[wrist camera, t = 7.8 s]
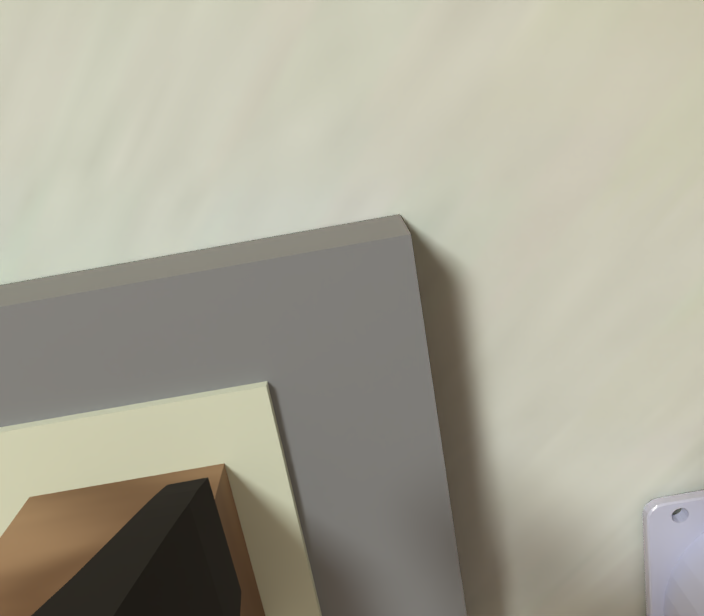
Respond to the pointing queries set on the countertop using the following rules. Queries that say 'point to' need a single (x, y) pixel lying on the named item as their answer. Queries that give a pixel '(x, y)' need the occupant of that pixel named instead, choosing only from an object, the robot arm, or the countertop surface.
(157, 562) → the robot arm
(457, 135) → the countertop surface
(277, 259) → the slate board
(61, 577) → the walnut cube
